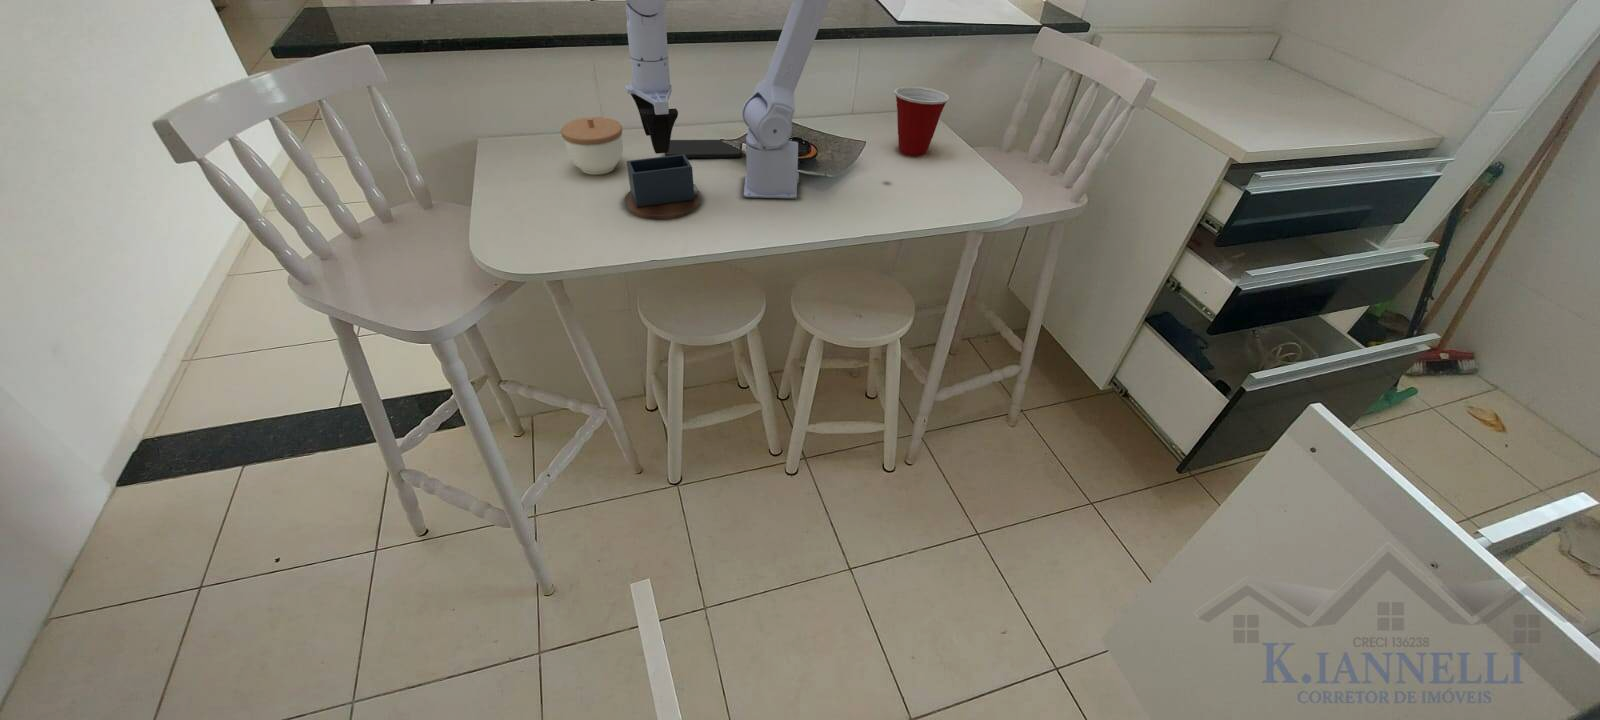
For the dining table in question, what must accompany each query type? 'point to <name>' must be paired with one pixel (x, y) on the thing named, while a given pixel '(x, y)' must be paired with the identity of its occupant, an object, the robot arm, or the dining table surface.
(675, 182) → the bin
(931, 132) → the plastic cup
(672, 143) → the phone
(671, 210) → the disc
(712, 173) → the dining table surface
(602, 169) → the trinket box
